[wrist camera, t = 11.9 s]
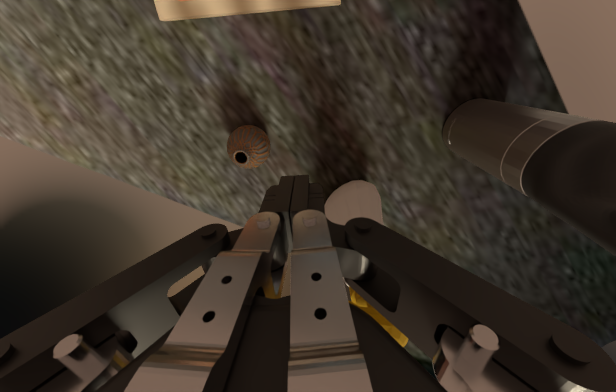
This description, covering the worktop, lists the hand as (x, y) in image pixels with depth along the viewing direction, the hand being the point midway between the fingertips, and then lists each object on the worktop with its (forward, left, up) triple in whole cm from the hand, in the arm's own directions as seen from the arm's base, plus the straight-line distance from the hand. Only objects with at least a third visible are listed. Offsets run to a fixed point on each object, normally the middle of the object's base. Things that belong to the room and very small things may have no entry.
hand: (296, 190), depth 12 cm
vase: (+10, +5, -29) cm, 31 cm away
